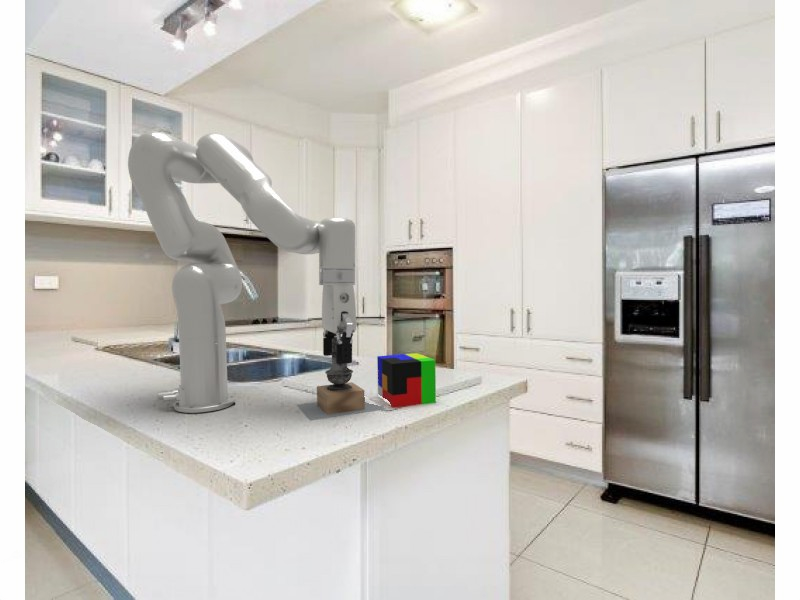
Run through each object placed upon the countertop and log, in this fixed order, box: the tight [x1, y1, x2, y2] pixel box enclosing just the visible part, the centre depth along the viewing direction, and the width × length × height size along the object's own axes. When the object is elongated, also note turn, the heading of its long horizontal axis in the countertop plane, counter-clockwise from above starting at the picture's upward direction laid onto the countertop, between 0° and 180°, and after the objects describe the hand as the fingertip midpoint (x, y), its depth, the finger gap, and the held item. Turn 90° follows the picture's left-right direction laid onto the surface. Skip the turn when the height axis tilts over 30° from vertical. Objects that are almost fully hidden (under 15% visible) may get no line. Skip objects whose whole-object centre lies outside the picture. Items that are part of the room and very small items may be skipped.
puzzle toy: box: [376, 352, 437, 409], centre depth 101 cm, size 10×10×10 cm
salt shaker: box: [325, 336, 354, 391], centre depth 95 cm, size 6×6×12 cm
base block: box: [316, 381, 365, 415], centre depth 96 cm, size 8×8×4 cm
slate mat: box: [296, 401, 386, 421], centre depth 96 cm, size 16×12×1 cm
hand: (337, 359), depth 95 cm, fingers open, 9 cm apart
